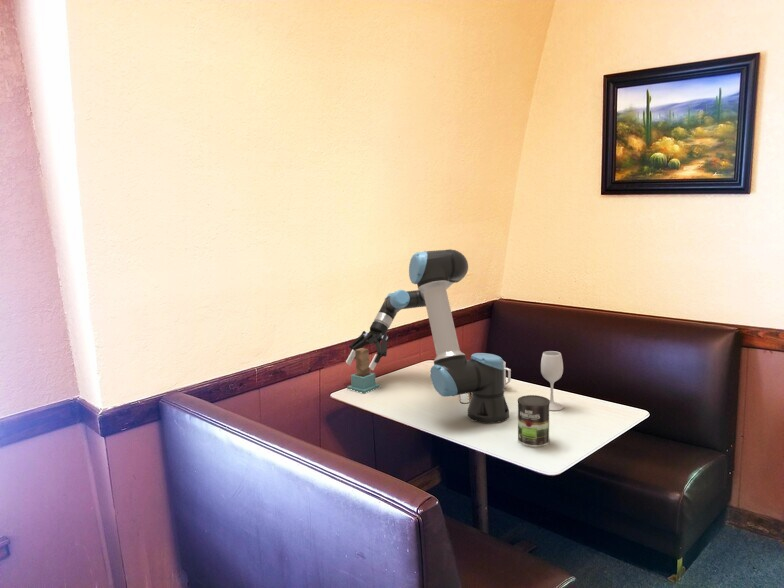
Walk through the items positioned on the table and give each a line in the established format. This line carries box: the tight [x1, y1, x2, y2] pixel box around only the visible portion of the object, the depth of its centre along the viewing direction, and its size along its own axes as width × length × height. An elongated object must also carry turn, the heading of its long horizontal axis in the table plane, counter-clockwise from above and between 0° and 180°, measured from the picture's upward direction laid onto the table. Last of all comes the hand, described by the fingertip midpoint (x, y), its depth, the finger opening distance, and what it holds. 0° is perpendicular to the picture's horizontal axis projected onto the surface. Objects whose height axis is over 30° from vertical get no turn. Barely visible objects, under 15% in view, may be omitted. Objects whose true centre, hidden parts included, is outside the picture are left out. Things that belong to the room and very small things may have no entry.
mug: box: [503, 360, 512, 389], centre depth 251 cm, size 12×9×11 cm
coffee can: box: [517, 394, 550, 448], centre depth 198 cm, size 10×10×14 cm
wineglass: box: [540, 350, 565, 411], centre depth 227 cm, size 9×9×21 cm
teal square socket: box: [346, 372, 381, 394], centre depth 259 cm, size 10×10×6 cm
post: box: [355, 347, 371, 377], centre depth 258 cm, size 4×4×16 cm
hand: (359, 366), depth 257 cm, fingers open, 13 cm apart
